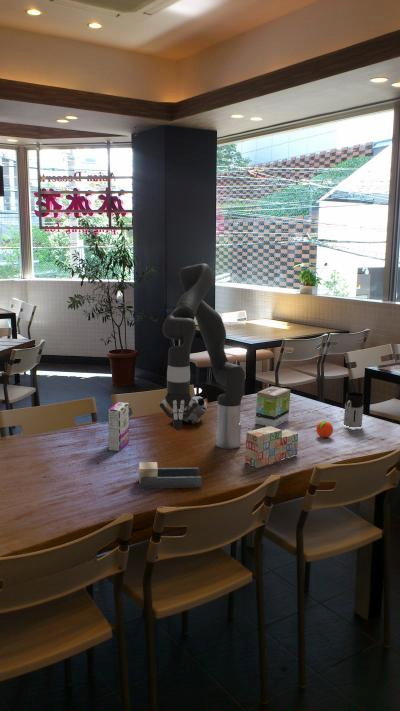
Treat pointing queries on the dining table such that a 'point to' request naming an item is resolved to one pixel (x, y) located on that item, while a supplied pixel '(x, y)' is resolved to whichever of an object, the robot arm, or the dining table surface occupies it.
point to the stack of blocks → (269, 445)
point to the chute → (173, 478)
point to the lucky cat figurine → (195, 410)
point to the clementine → (324, 429)
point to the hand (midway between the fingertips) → (177, 429)
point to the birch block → (147, 470)
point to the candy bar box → (118, 426)
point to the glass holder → (353, 409)
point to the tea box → (272, 406)
